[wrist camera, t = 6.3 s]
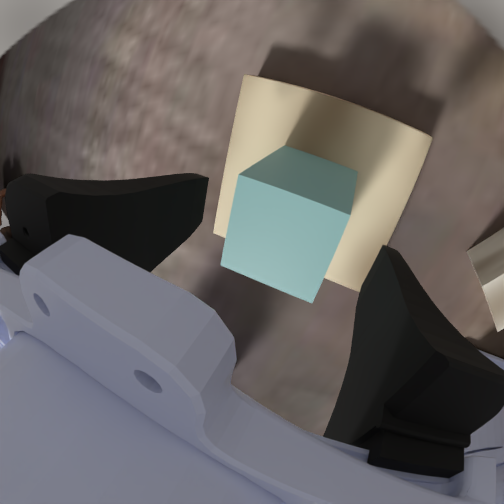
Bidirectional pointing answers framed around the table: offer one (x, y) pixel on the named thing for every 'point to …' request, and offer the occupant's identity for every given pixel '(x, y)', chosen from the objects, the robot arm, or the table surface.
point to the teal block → (288, 220)
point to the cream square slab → (333, 149)
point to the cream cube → (491, 273)
